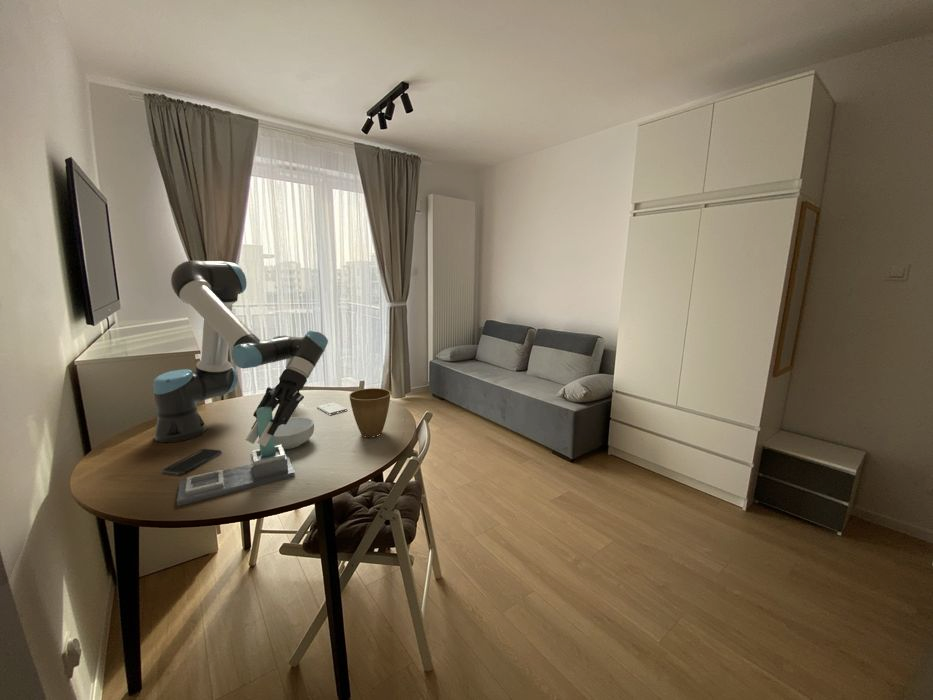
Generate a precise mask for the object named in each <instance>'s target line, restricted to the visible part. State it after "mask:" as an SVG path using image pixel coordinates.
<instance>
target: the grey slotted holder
mask: <svg viewBox="0 0 933 700" xmlns="http://www.w3.org/2000/svg"><path fill="white" fill-rule="evenodd" d="M275 450H276V455H275V456H271V457H266V458H262V459H261V454H260V448H259V449H254V450H251V454H250V455H249V456H250V464H246V465H242V466H238V467H237V466H236V467H233V468H229V469H228V468H227V469H224V470H223V469H219V470H214V471H210V472H204V473H200V474H196V475H191V476H186V478H182V479H180V480H179V486H178V492H177V498H176V506H177V507H181V506H184V505H188V504H189V505H190V504H192V503H196V502H200V501H205V500H209V499H212V498H215V497H221V496H225V495H228V494H232V493H235V492H240V491H244V490H248V489H251V488H256V487H260V486H263V485H268V484H271V483H276V482H279V481H284V480H287V479H292V478H295V475H296V474H295V472H296V471H295V470H294V467H293V465H292V462H291V459H290V457H289V455H286V452H285V449H283V447H282V446H281V445H277V446H275Z"/></svg>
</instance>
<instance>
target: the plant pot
mask: <svg viewBox="0 0 933 700" xmlns="http://www.w3.org/2000/svg"><path fill="white" fill-rule="evenodd" d="M348 397H349V402H350V406H351V410H352V413H353V417H354V421H355V424H356V426H357V428H358V431H359V433H360V435H361V436H362V437H363V436H366V437H373V436H377V435H379V434H381V435H382V433H383V431H384V427H385V424H386V421H387V417H388V413H389V407H390V401H391V400H390V399H391V391H390V390H388V389H385V388H377V387H376V388H374V387H372V388H362V389H357V390H355V391H352V392H350V394H349V395H348ZM379 436H380V435H379ZM366 437H365V438H366ZM377 437H378V436H377ZM373 438H374V437H373Z"/></svg>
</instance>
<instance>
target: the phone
mask: <svg viewBox="0 0 933 700" xmlns="http://www.w3.org/2000/svg"><path fill="white" fill-rule="evenodd" d="M222 453H223V452H222V450H219V449H209V448H203V449H200V450H198V451H196V452H194V453H192V454H190V455H188V456H186V457H185V458H183V459H181V460H178V461H177V462H174V463H173V464H171V465H169V466H167V467H165V468H163V469H162V474H166V473H169V474H168V475H174V474H177V476H185V475H187V474H189V473H190V471H191V472H192V471H194V470H196V469H198V468H199V467H201V466H203V465H204V464H206V463H209V461H211V460H213V459H215V458H217V457H218V456H221V455H222ZM197 467H198V468H197ZM195 468H196V469H195ZM188 472H189V473H188ZM184 474H185V475H184Z"/></svg>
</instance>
